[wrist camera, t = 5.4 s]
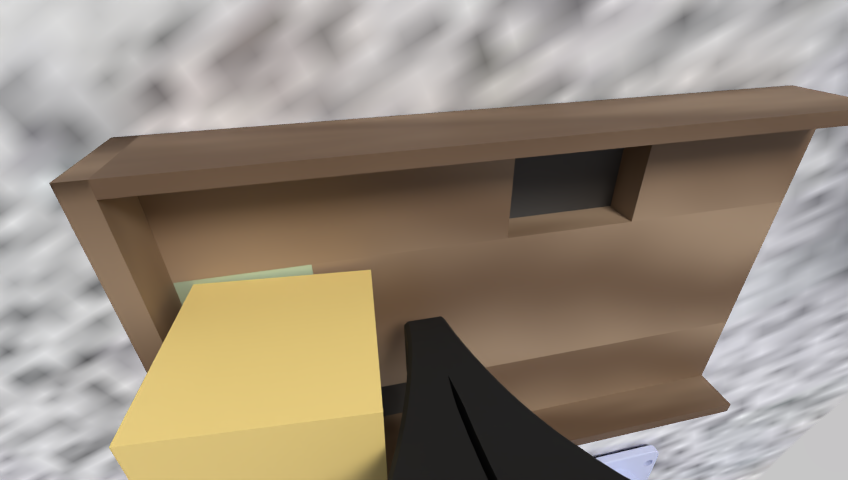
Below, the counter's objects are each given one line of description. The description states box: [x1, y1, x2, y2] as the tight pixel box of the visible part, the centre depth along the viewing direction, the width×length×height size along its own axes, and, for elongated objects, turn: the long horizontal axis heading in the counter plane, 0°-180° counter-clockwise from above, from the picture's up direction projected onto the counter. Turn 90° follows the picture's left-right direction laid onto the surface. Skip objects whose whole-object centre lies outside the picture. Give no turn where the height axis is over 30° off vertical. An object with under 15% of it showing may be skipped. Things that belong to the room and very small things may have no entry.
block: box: [109, 270, 387, 480], centre depth 10 cm, size 4×4×4 cm
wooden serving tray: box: [49, 86, 848, 479], centre depth 13 cm, size 12×19×3 cm, turn 91°
